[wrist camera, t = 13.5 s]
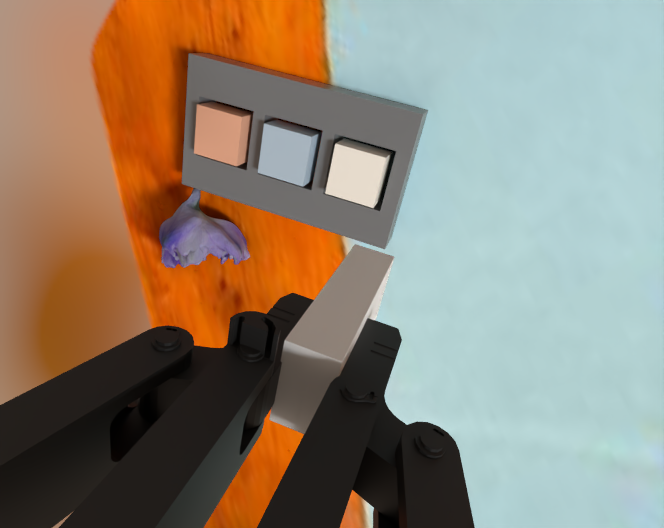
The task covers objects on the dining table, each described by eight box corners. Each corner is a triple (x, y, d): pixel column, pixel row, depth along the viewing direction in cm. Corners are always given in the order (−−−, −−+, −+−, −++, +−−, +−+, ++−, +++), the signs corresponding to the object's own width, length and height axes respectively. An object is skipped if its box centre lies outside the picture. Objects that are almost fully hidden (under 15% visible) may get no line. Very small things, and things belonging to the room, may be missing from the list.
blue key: (276, 119, 42) (264, 123, 40) (321, 132, 41) (311, 136, 39) (269, 166, 44) (257, 172, 42) (313, 179, 43) (302, 186, 41)
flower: (119, 186, 44) (145, 285, 42) (205, 155, 44) (235, 253, 42) (162, 214, 53) (185, 296, 51) (233, 188, 53) (259, 270, 51)
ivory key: (344, 138, 41) (335, 143, 39) (392, 152, 40) (386, 158, 38) (334, 185, 43) (325, 193, 41) (379, 199, 42) (373, 208, 40)
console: (207, 53, 43) (188, 53, 41) (427, 110, 39) (423, 114, 37) (198, 176, 49) (181, 183, 46) (391, 237, 45) (384, 249, 42)
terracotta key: (212, 101, 43) (196, 104, 41) (255, 113, 43) (242, 117, 40) (208, 148, 45) (193, 153, 43) (249, 160, 45) (236, 166, 42)
